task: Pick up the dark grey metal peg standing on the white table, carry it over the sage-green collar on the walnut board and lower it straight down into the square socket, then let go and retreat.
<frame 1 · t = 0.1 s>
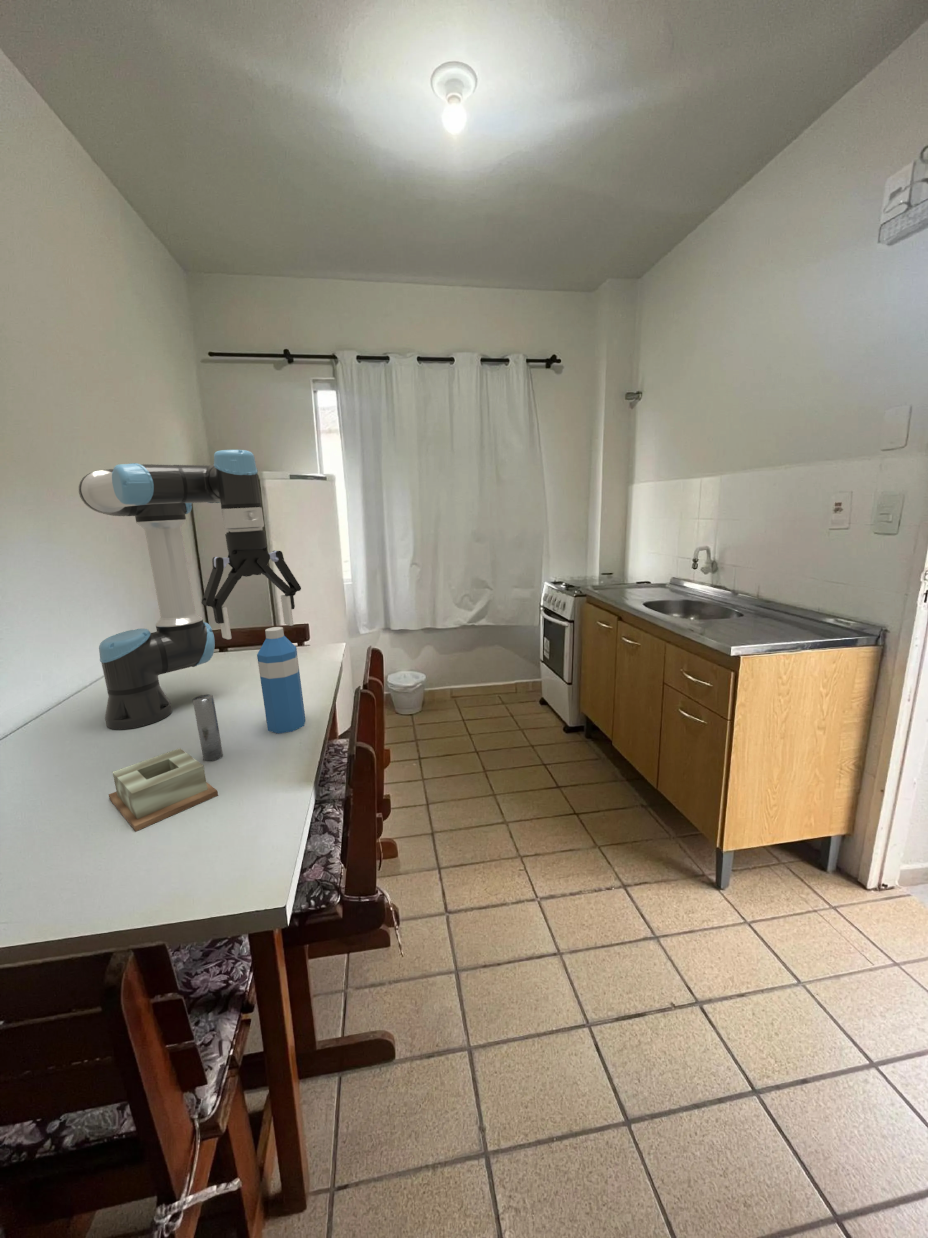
hand: (259, 631, 109), 28 cm above the table, fingers open, 13 cm apart
water bottle: (287, 726, 128), on the table
peg: (213, 757, 114), on the table
socket: (163, 797, 98), on the table
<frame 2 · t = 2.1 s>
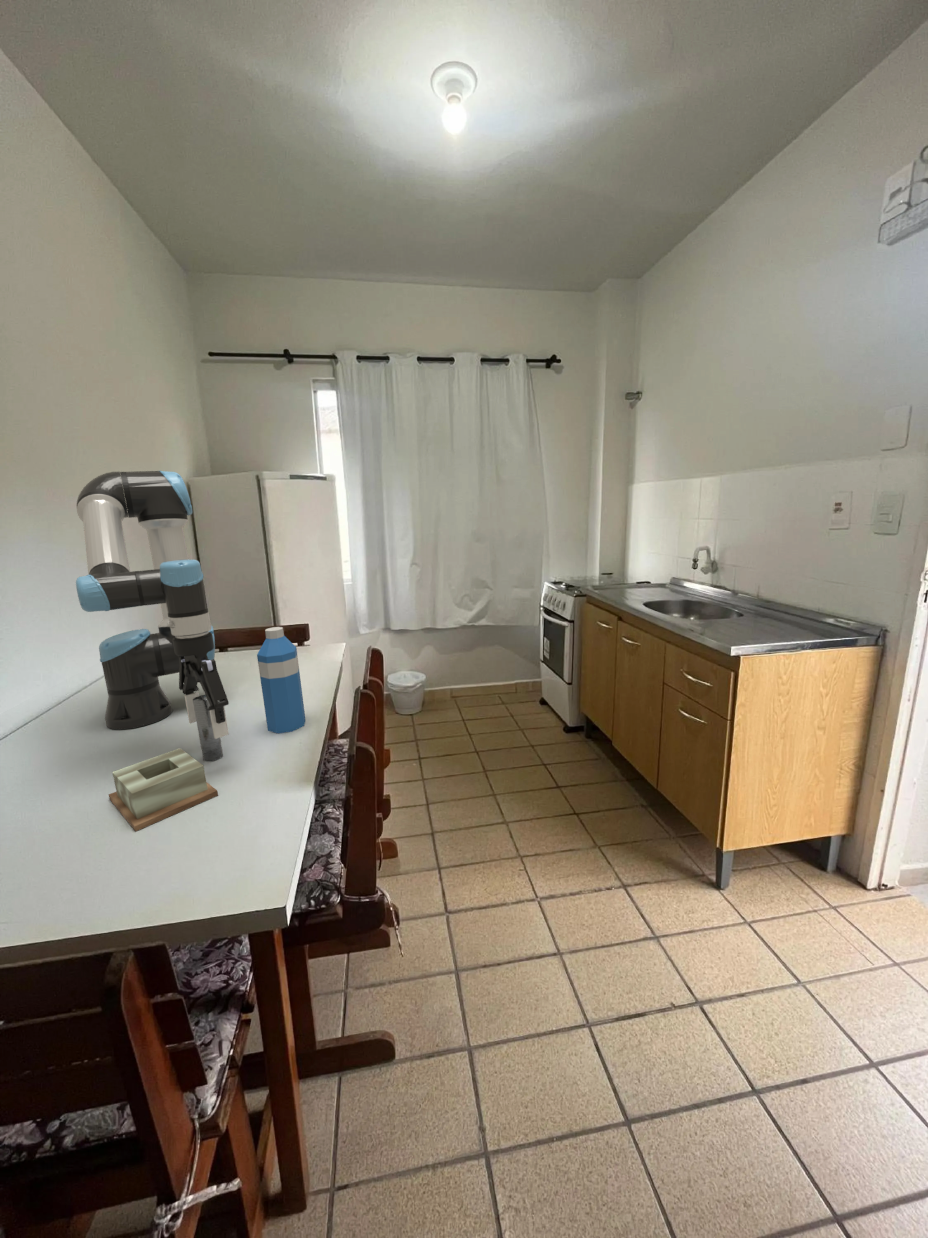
hand: (208, 728, 112), 7 cm above the table, fingers open, 13 cm apart
nothing on the table moved.
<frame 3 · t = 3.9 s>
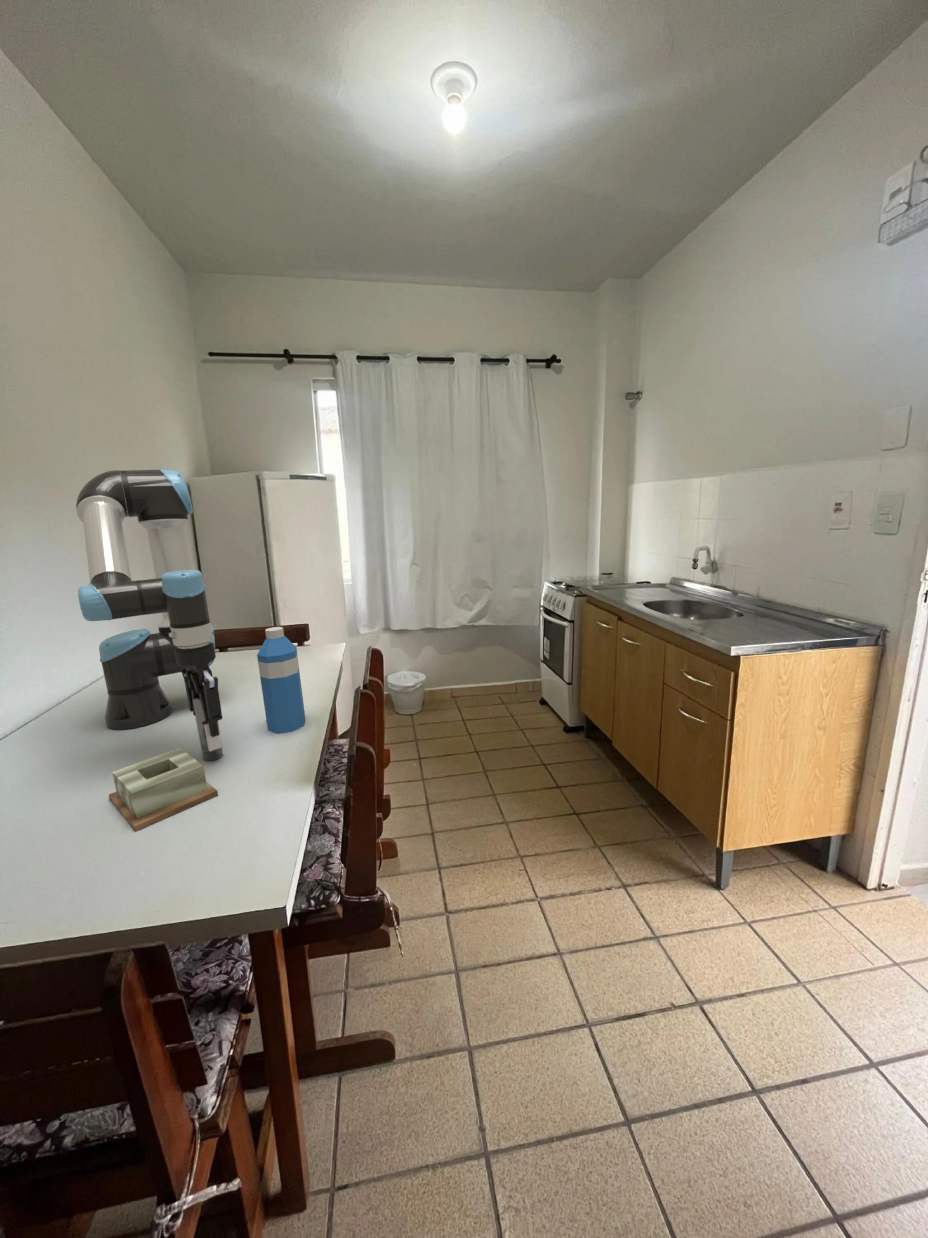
hand: (211, 745, 113), 3 cm above the table, fingers closed on peg, 4 cm apart
peg: (213, 756, 114), on the table, touching gripper
everything else where it was.
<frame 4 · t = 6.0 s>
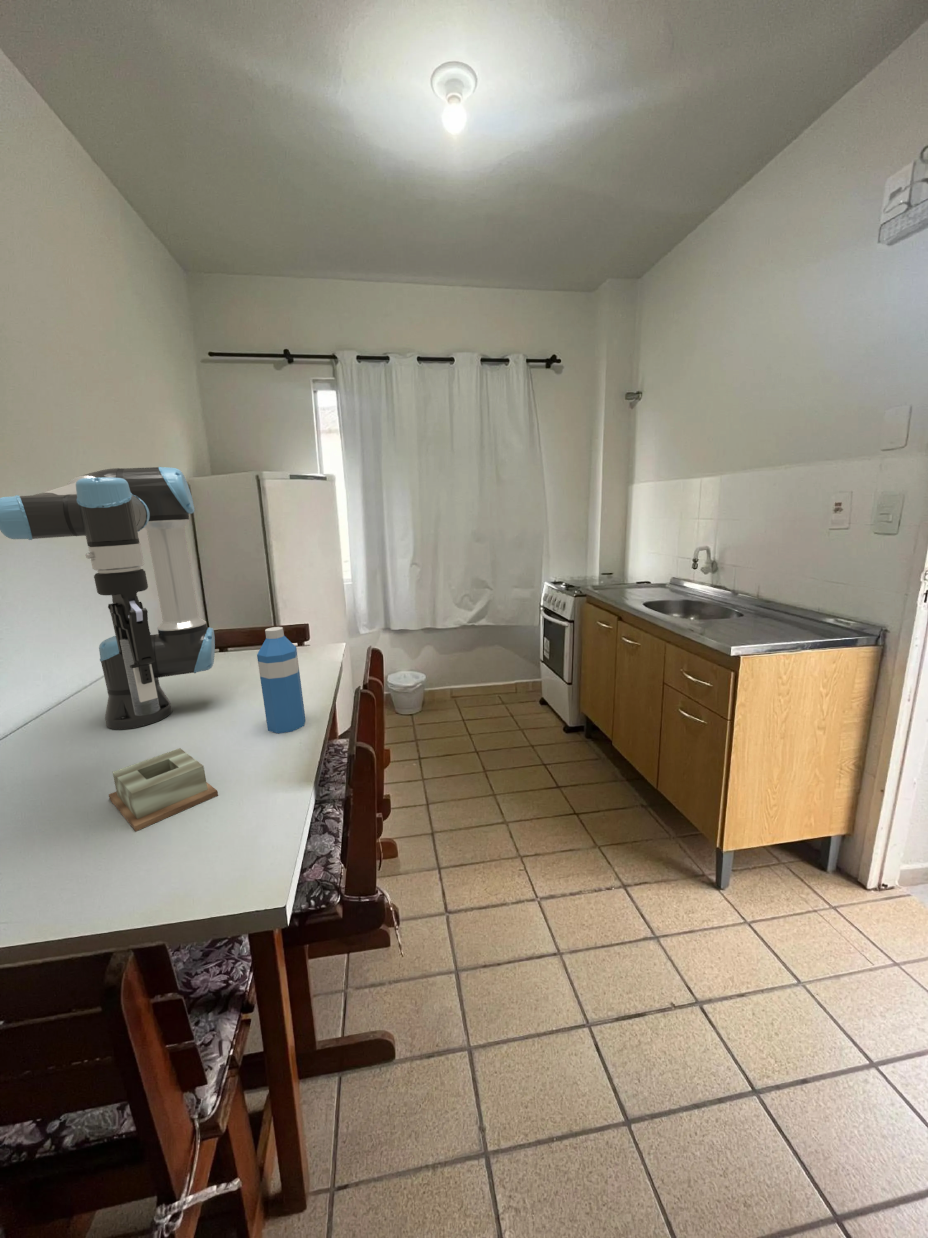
hand: (144, 696, 94), 21 cm above the table, fingers closed on peg, 4 cm apart
peg: (147, 711, 94), point 18 cm above the table, touching gripper
everything else where it was.
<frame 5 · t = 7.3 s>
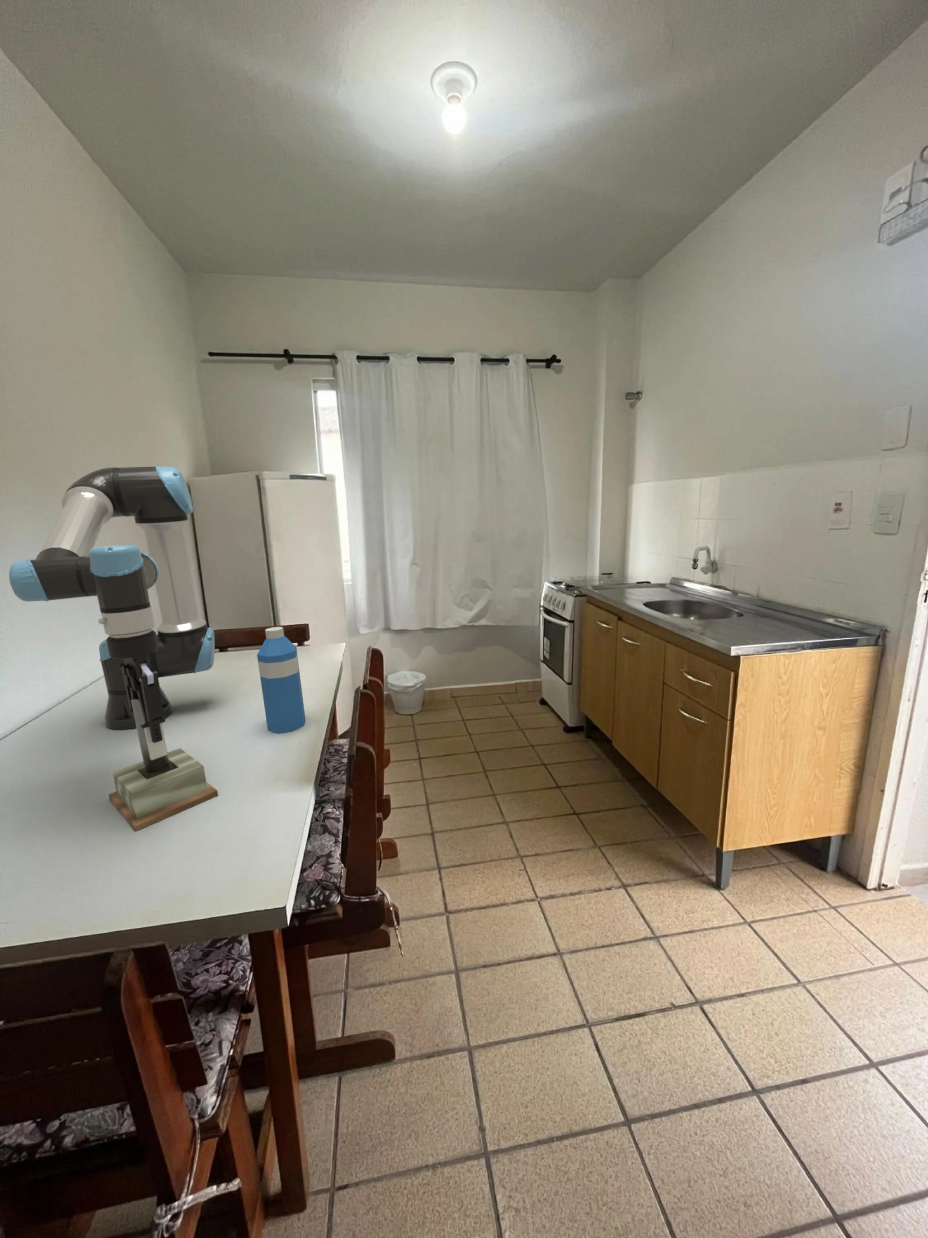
hand: (154, 753, 96), 9 cm above the table, fingers closed on peg, 4 cm apart
peg: (157, 767, 97), point 6 cm above the table, touching gripper
everything else where it was.
when the fingers open (7 cm above the table, at t = 8.3 s): peg drops 3 cm, resting on socket.
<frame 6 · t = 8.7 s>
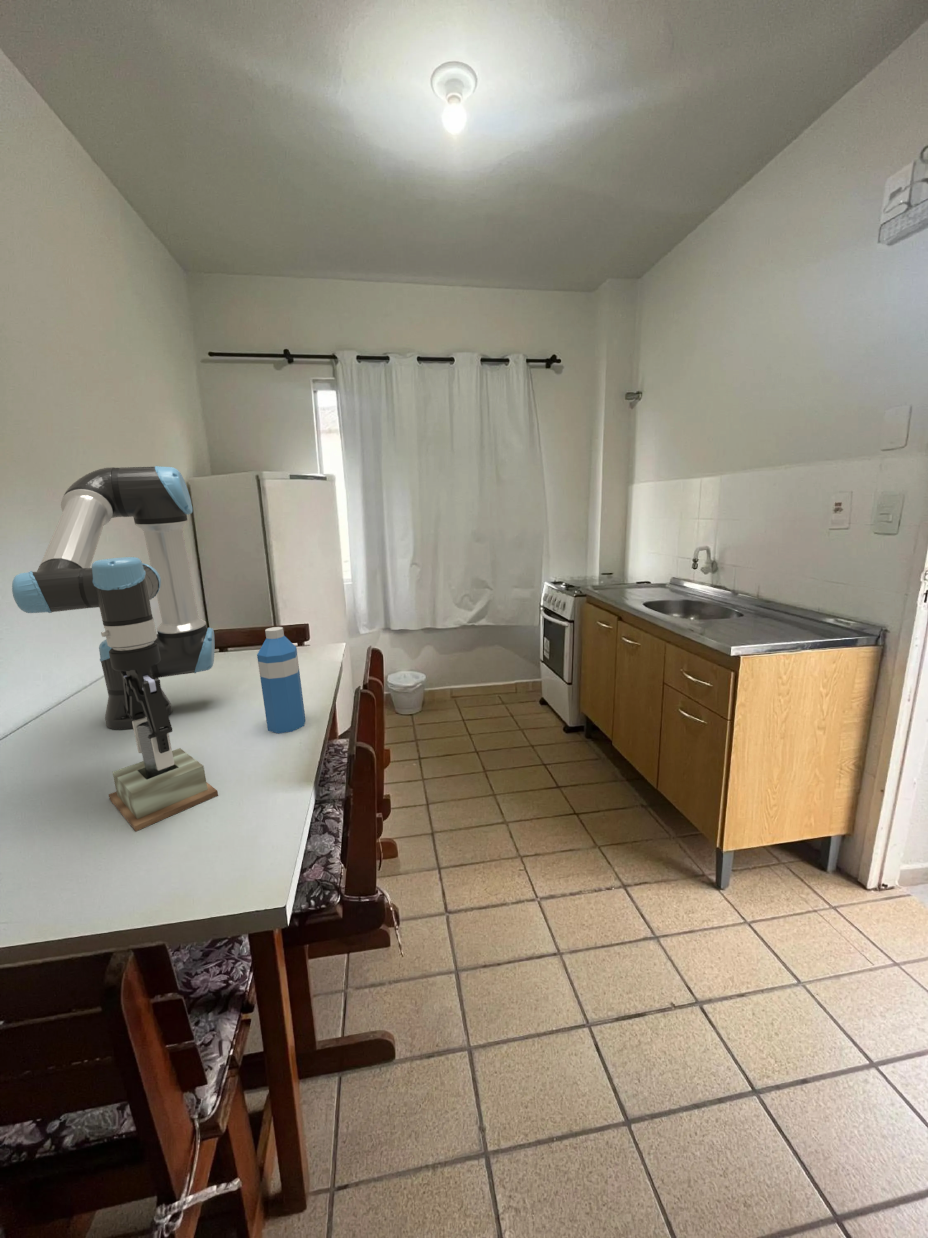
hand: (155, 758, 96), 8 cm above the table, fingers open, 10 cm apart
peg: (162, 792, 98), point 1 cm above the table, touching socket
everything else where it was.
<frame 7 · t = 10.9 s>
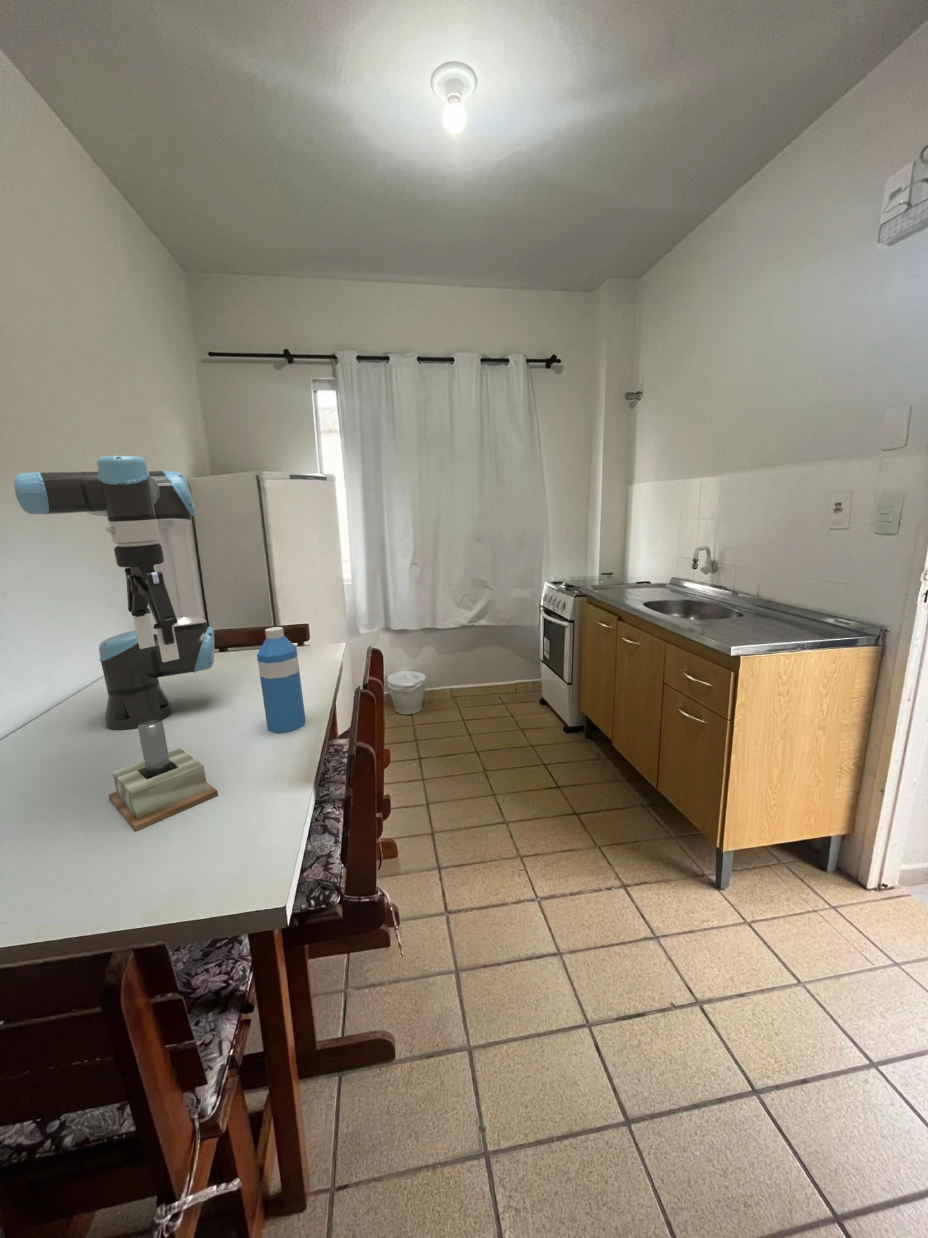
hand: (158, 653, 99), 27 cm above the table, fingers open, 13 cm apart
nothing on the table moved.
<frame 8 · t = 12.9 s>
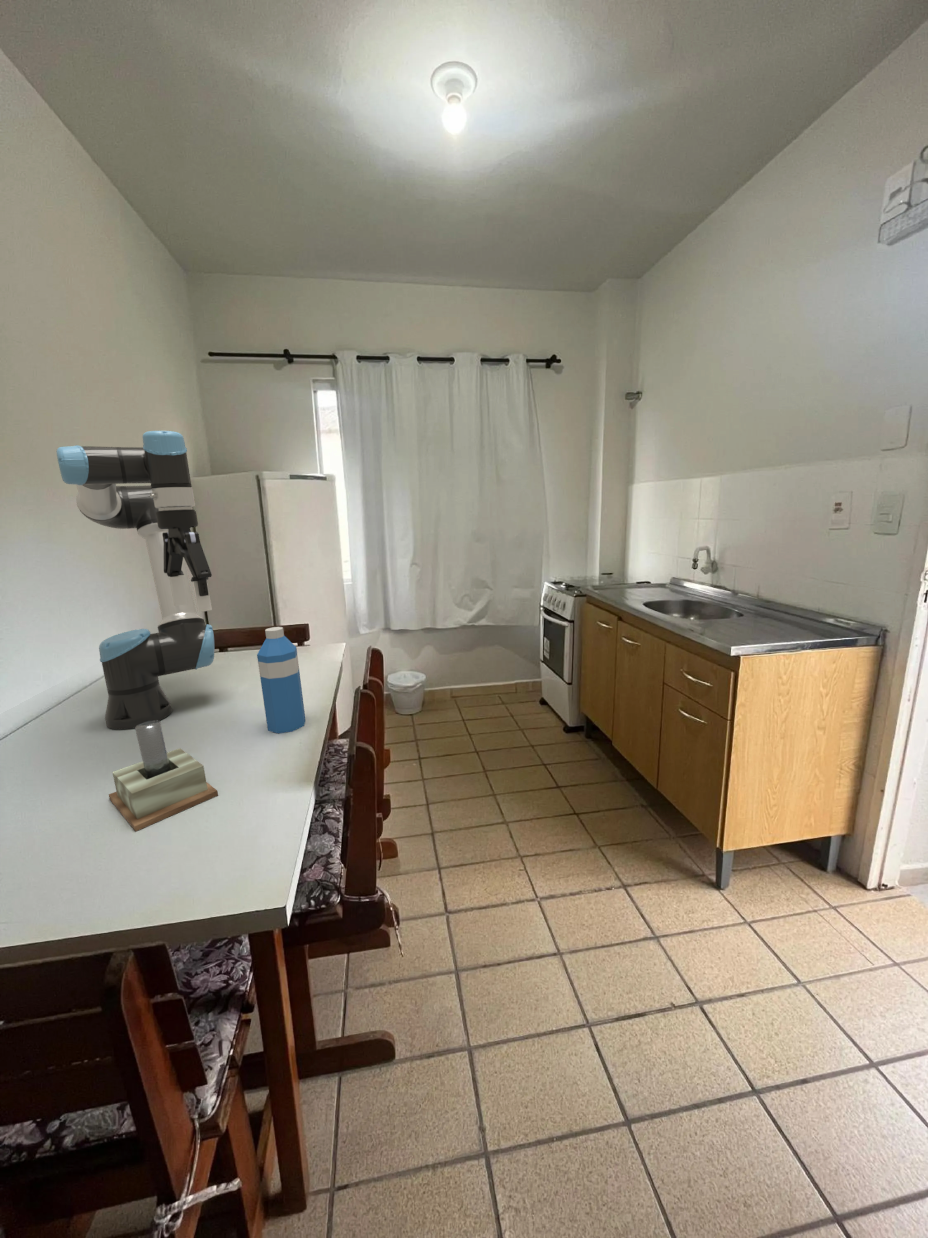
hand: (192, 607, 112), 33 cm above the table, fingers open, 13 cm apart
nothing on the table moved.
at the end: peg 0.1 cm off-centre on the socket, point 1.0 cm above the socket's base; peg tilted 1°; the gripper is holding nothing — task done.
